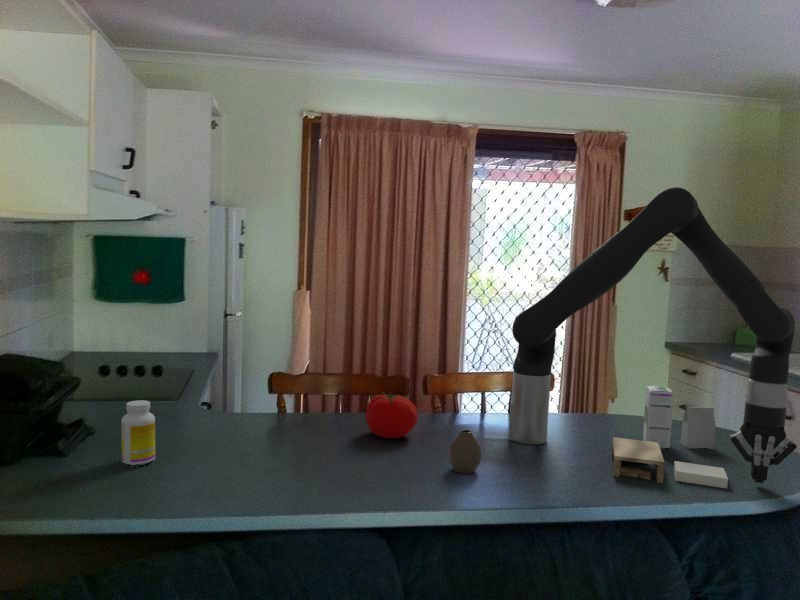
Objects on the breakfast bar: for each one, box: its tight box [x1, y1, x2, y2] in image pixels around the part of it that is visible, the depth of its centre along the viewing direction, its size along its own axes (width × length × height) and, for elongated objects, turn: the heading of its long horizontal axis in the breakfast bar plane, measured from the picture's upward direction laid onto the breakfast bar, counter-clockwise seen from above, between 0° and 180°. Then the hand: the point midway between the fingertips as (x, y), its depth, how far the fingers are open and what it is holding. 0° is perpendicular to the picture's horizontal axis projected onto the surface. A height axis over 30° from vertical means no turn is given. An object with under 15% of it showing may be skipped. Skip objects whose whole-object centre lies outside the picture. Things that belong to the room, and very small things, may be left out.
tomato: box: [365, 391, 419, 439], centre depth 161 cm, size 13×12×11 cm
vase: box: [448, 429, 482, 475], centre depth 139 cm, size 7×7×9 cm
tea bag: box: [679, 406, 717, 450], centre depth 163 cm, size 4×7×10 cm, turn 91°
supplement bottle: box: [120, 399, 156, 465], centre depth 136 cm, size 7×7×13 cm
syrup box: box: [642, 385, 674, 449], centre depth 162 cm, size 6×6×14 cm
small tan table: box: [611, 436, 665, 484], centre depth 144 cm, size 10×14×5 cm
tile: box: [673, 460, 729, 489], centre depth 140 cm, size 10×7×2 cm
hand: (758, 481), depth 137 cm, fingers closed
